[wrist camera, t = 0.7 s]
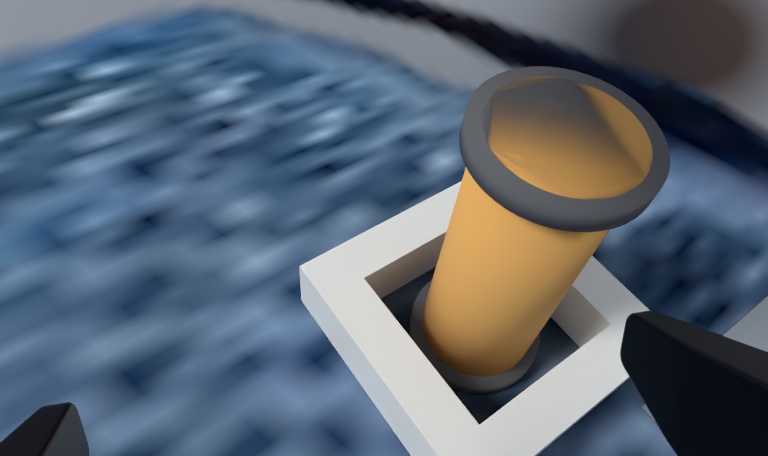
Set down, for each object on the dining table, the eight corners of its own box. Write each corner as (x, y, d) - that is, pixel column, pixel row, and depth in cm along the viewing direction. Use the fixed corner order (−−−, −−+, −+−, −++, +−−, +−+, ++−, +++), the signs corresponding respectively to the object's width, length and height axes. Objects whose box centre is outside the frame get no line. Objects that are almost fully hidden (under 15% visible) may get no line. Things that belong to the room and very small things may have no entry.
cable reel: (561, 349, 27) (712, 158, 17) (465, 421, 25) (571, 250, 14) (477, 258, 30) (562, 45, 19) (383, 315, 27) (423, 107, 17)
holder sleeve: (645, 364, 27) (676, 336, 25) (457, 522, 22) (474, 505, 20) (482, 200, 32) (495, 163, 30) (301, 300, 27) (299, 266, 25)
